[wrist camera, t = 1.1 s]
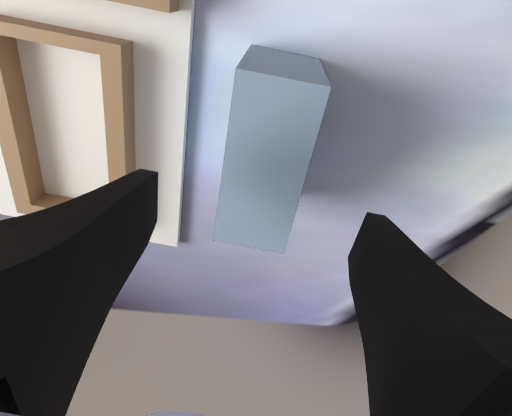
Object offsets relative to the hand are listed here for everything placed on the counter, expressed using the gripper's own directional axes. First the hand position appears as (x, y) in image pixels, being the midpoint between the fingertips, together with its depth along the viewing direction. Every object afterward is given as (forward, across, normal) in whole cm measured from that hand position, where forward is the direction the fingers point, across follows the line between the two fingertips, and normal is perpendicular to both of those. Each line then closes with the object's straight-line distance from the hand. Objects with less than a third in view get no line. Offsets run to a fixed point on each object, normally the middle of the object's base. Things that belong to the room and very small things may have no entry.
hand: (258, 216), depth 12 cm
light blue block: (+9, 0, 0) cm, 9 cm away
